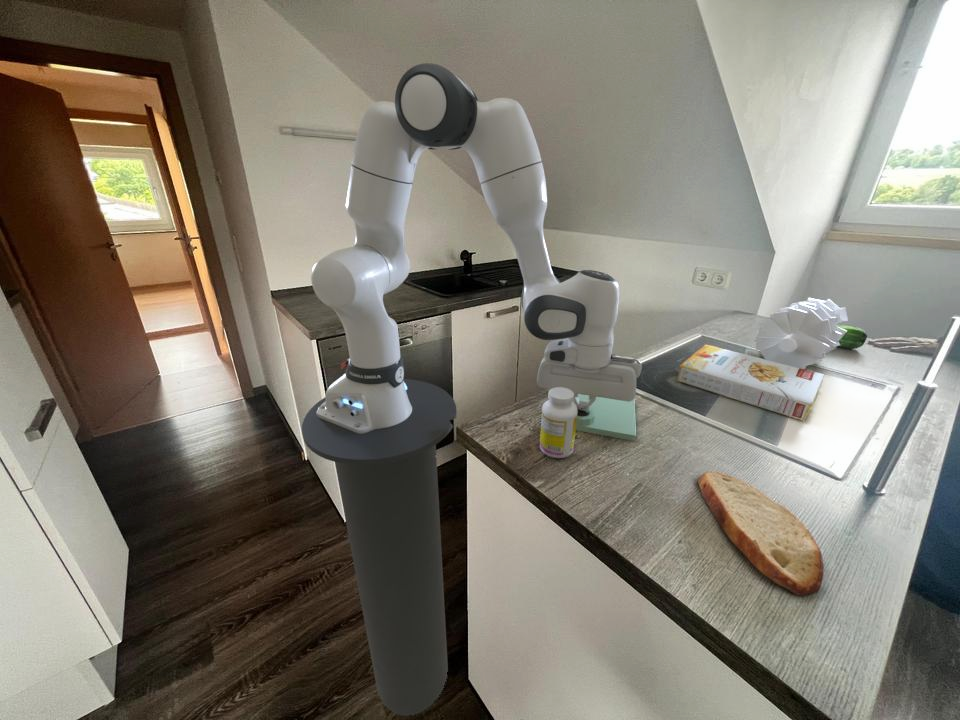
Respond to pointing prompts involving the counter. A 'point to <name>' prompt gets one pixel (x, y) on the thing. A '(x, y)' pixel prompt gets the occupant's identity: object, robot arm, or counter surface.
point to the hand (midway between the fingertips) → (581, 410)
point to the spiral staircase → (801, 333)
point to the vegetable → (852, 337)
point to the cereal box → (753, 380)
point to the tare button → (582, 413)
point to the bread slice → (765, 533)
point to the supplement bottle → (558, 423)
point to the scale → (608, 418)
